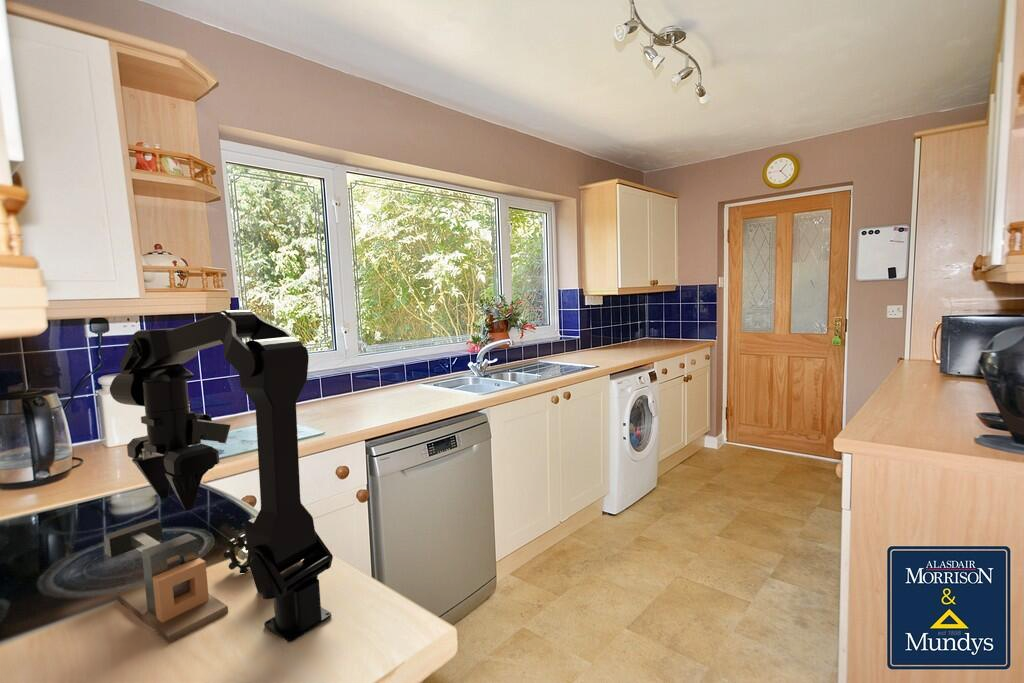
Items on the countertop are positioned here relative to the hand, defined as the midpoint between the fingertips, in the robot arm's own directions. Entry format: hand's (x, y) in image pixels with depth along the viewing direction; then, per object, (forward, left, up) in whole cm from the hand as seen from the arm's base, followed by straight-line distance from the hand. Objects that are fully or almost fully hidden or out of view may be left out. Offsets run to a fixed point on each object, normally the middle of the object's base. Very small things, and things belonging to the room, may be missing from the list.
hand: (176, 503), depth 79 cm
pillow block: (-7, +4, -13) cm, 16 cm away
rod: (0, +4, -7) cm, 8 cm away
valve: (-4, -12, -13) cm, 18 cm away
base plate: (-6, +4, -13) cm, 15 cm away
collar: (-10, +4, -12) cm, 16 cm away
